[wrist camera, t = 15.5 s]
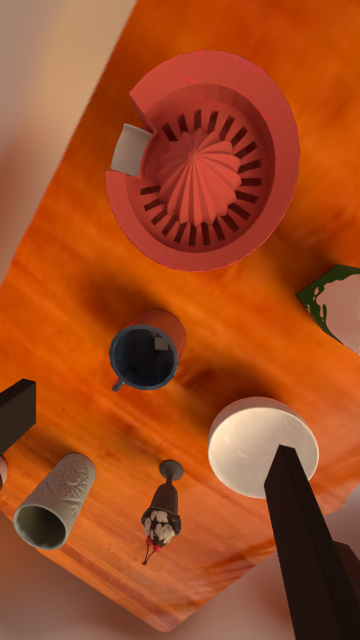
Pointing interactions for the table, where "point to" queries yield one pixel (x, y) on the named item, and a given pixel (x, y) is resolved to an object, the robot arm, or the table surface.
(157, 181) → the citrus juicer
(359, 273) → the milk carton
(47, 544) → the grey embossed cup
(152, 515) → the sundae
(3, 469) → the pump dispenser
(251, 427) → the cereal bowl
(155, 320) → the mug
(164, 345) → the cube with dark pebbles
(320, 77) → the table surface
